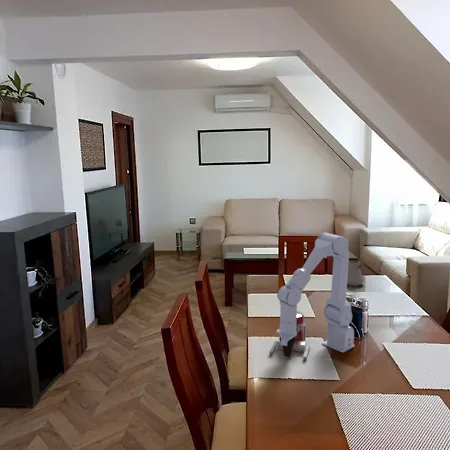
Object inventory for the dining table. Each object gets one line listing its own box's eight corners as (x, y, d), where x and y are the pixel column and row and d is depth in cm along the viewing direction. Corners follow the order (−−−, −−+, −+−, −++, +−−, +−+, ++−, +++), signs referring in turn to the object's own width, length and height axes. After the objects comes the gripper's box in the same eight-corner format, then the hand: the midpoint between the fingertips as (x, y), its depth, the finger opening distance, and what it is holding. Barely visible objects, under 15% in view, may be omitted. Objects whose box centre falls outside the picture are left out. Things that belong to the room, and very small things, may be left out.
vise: (280, 334, 167) (280, 320, 166) (313, 339, 162) (313, 325, 161) (269, 355, 150) (269, 340, 149) (306, 361, 145) (306, 345, 144)
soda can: (281, 345, 158) (282, 315, 156) (287, 337, 164) (288, 309, 162) (299, 349, 154) (300, 319, 152) (305, 341, 161) (306, 312, 159)
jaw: (279, 344, 158) (279, 338, 157) (305, 348, 154) (305, 341, 154) (273, 355, 149) (274, 348, 148) (301, 360, 146) (301, 352, 145)
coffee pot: (340, 280, 237) (341, 255, 234) (361, 281, 236) (362, 255, 233) (348, 293, 216) (349, 265, 213) (370, 293, 215) (372, 265, 212)
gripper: (281, 311, 153) (280, 345, 155) (272, 326, 139) (271, 363, 141) (300, 313, 150) (299, 348, 153) (293, 329, 137) (292, 367, 139)
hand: (287, 356), depth 147 cm, fingers closed, pressing on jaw
